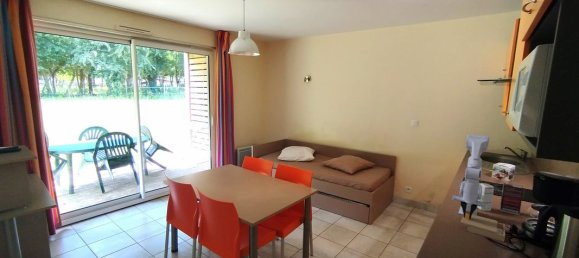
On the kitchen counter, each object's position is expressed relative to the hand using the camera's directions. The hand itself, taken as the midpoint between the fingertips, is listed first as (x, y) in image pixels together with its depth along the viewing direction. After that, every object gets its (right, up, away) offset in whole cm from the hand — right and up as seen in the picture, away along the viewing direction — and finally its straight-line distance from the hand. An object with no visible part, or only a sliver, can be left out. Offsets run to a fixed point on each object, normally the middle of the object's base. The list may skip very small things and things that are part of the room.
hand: (467, 217), depth 133 cm
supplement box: (+36, -3, +18) cm, 40 cm away
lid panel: (+4, -2, -3) cm, 5 cm away
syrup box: (+23, -2, +21) cm, 31 cm away
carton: (+6, -5, -4) cm, 9 cm away
